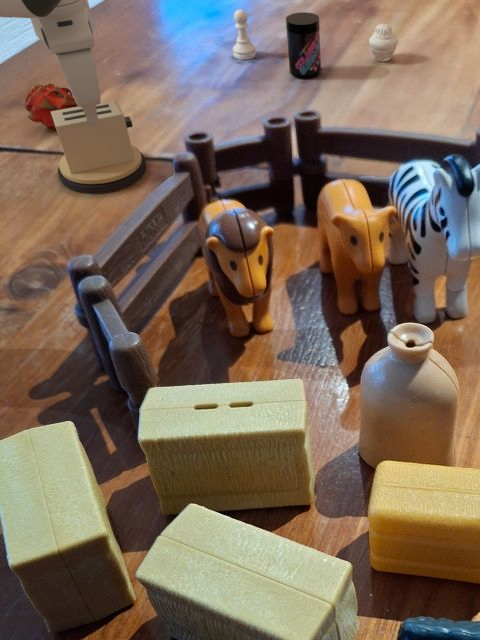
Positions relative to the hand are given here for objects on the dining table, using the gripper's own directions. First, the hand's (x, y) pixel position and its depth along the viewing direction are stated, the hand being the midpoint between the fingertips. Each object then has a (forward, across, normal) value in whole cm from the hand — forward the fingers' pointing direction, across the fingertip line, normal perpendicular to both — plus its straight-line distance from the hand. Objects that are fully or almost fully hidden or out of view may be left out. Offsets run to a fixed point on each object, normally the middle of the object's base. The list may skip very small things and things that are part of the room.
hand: (88, 111), depth 120 cm
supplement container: (+11, -24, +46) cm, 54 cm away
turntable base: (+10, 0, 0) cm, 10 cm away
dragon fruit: (+11, -20, -4) cm, 23 cm away
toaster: (+9, 0, 0) cm, 9 cm away
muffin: (+11, -24, +64) cm, 70 cm away
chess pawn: (+11, -38, +37) cm, 55 cm away
